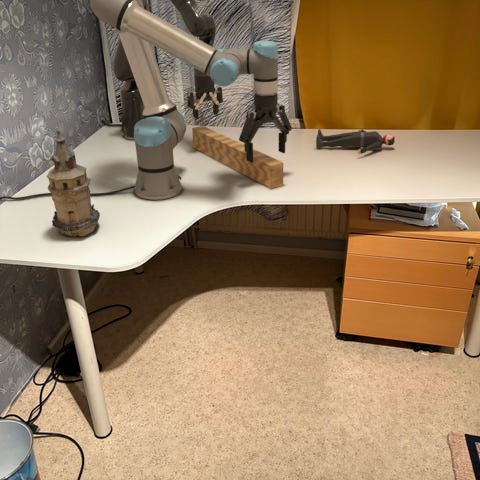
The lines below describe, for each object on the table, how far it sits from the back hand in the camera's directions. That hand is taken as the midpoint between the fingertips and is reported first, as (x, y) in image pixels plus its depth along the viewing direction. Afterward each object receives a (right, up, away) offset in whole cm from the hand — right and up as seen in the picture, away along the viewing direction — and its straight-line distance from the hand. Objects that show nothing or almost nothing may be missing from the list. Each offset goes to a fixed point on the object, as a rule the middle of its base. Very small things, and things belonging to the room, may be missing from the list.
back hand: (206, 116), depth 204 cm
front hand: (+22, -19, -24) cm, 38 cm away
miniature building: (-34, -44, -49) cm, 74 cm away
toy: (+58, -10, +8) cm, 60 cm away
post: (+11, -19, -7) cm, 23 cm away
